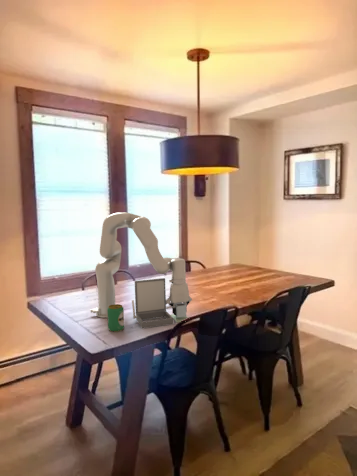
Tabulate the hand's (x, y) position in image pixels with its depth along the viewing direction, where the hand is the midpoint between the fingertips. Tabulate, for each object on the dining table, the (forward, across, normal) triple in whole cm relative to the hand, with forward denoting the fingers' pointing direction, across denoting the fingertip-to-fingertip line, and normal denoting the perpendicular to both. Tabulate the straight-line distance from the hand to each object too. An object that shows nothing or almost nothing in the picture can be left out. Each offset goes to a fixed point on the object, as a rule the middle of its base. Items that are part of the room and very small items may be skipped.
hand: (179, 313), depth 198 cm
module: (+1, 0, 0) cm, 1 cm away
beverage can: (+3, -35, -4) cm, 36 cm away
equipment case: (+3, -15, 0) cm, 16 cm away
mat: (+3, 0, 0) cm, 3 cm away
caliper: (+3, -5, +22) cm, 22 cm away
